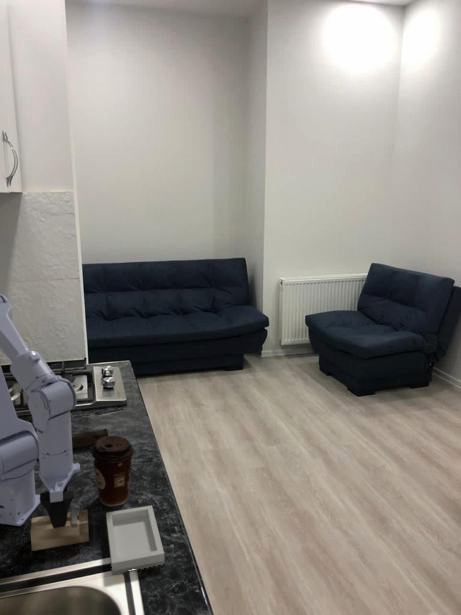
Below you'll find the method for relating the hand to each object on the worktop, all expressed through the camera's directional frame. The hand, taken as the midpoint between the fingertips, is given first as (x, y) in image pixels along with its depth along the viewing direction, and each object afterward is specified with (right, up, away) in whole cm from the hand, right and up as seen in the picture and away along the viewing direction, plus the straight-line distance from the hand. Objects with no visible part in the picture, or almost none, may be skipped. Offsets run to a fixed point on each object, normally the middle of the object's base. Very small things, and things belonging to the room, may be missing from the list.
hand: (59, 513), depth 94 cm
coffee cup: (+7, -3, +14) cm, 16 cm away
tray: (+14, -6, +1) cm, 15 cm away
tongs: (0, -5, +1) cm, 6 cm away
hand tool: (-8, +2, +33) cm, 34 cm away
